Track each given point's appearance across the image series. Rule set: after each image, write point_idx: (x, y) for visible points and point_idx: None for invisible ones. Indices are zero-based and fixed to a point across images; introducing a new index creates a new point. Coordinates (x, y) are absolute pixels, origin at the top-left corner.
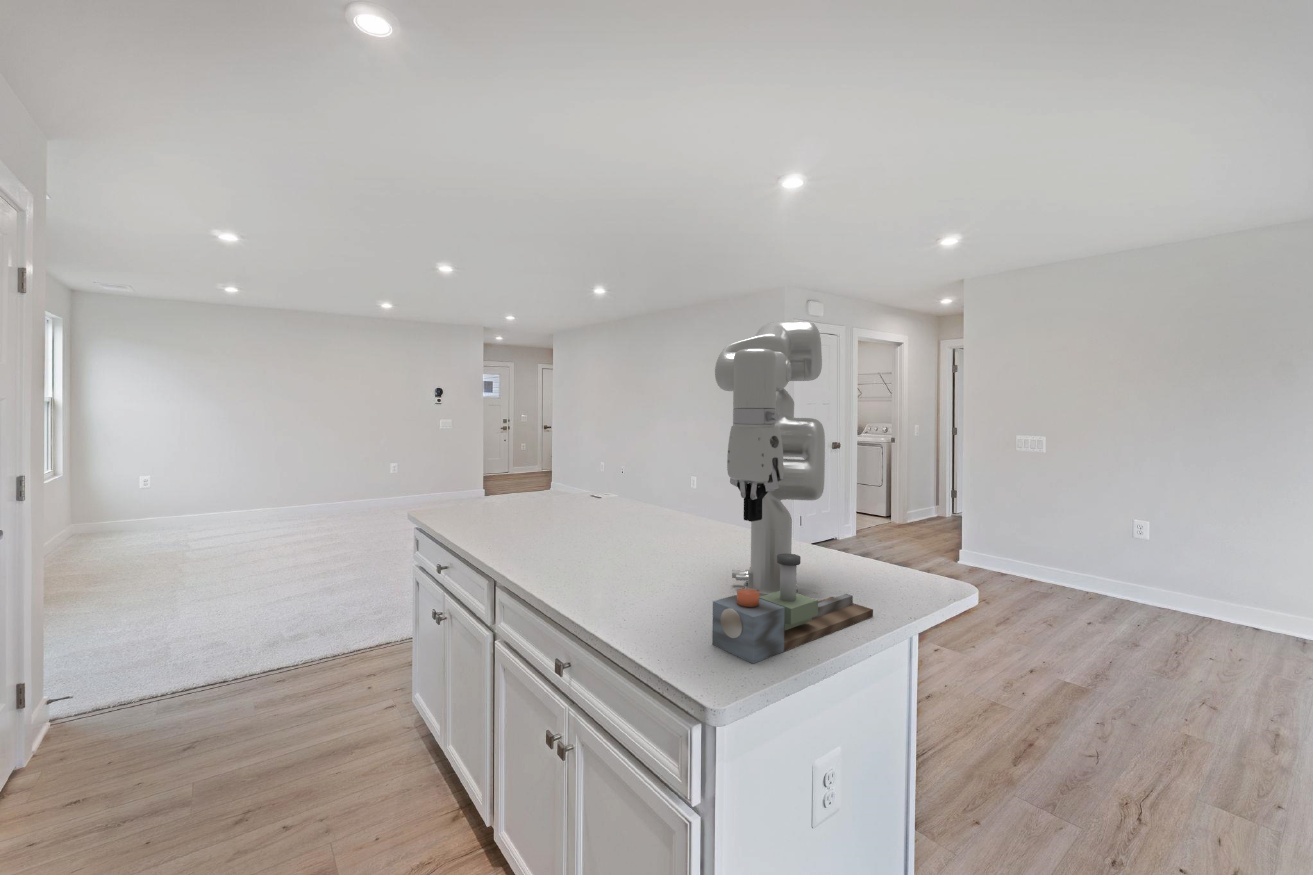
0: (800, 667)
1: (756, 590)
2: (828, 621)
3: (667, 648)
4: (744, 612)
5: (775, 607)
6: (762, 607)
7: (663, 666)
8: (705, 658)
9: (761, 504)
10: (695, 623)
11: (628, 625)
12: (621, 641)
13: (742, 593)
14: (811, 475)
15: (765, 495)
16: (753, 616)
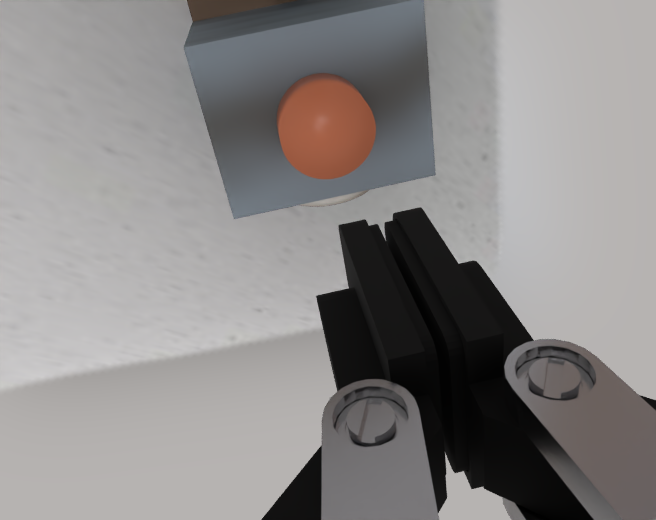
0: (478, 4)
1: (326, 86)
2: None
3: (203, 270)
4: (384, 177)
5: (403, 35)
6: (377, 87)
7: (294, 312)
8: (300, 213)
9: (517, 329)
10: (36, 116)
11: (4, 306)
12: (119, 349)
13: (332, 166)
14: None
15: (601, 365)
16: (429, 171)
